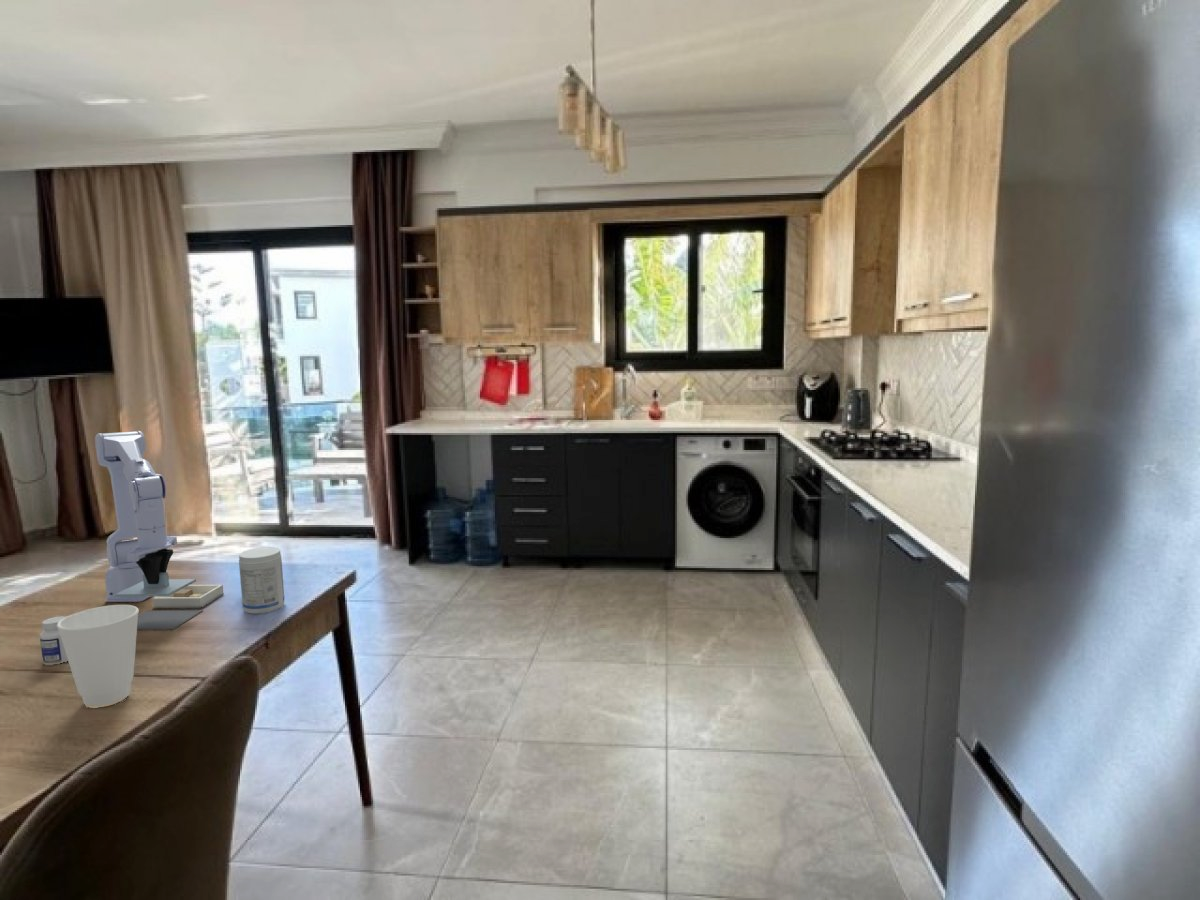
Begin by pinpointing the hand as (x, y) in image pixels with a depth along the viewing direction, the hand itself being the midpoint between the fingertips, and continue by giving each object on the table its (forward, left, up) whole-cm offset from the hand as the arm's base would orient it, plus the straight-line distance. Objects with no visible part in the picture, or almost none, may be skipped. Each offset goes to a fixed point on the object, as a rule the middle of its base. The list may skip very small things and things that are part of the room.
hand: (156, 582), depth 155 cm
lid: (0, 0, -2) cm, 2 cm away
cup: (+15, -37, -10) cm, 41 cm away
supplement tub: (+21, +8, -10) cm, 25 cm away
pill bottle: (-7, -21, -10) cm, 24 cm away
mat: (0, 0, -10) cm, 10 cm away
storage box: (-1, +13, -10) cm, 16 cm away
